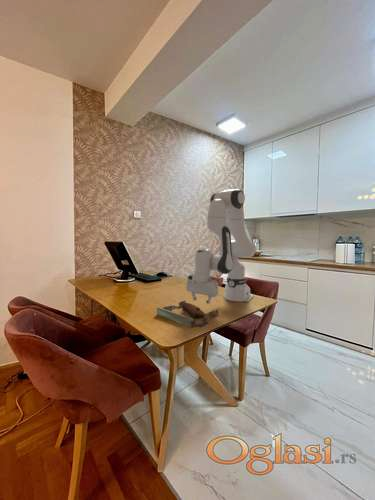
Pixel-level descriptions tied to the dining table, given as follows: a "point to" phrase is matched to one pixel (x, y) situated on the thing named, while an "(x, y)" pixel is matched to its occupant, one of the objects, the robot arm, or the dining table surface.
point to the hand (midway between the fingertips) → (201, 301)
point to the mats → (196, 325)
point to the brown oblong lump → (193, 310)
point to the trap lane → (182, 319)
